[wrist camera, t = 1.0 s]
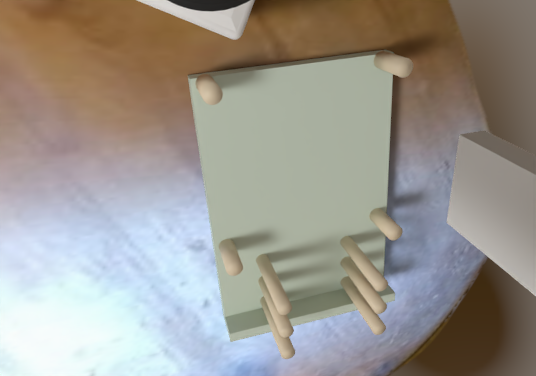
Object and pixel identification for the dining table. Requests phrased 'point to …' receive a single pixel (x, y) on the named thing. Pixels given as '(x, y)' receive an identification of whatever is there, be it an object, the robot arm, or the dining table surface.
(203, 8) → the container
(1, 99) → the dining table surface
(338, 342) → the dining table surface
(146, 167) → the dining table surface
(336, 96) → the dish rack
